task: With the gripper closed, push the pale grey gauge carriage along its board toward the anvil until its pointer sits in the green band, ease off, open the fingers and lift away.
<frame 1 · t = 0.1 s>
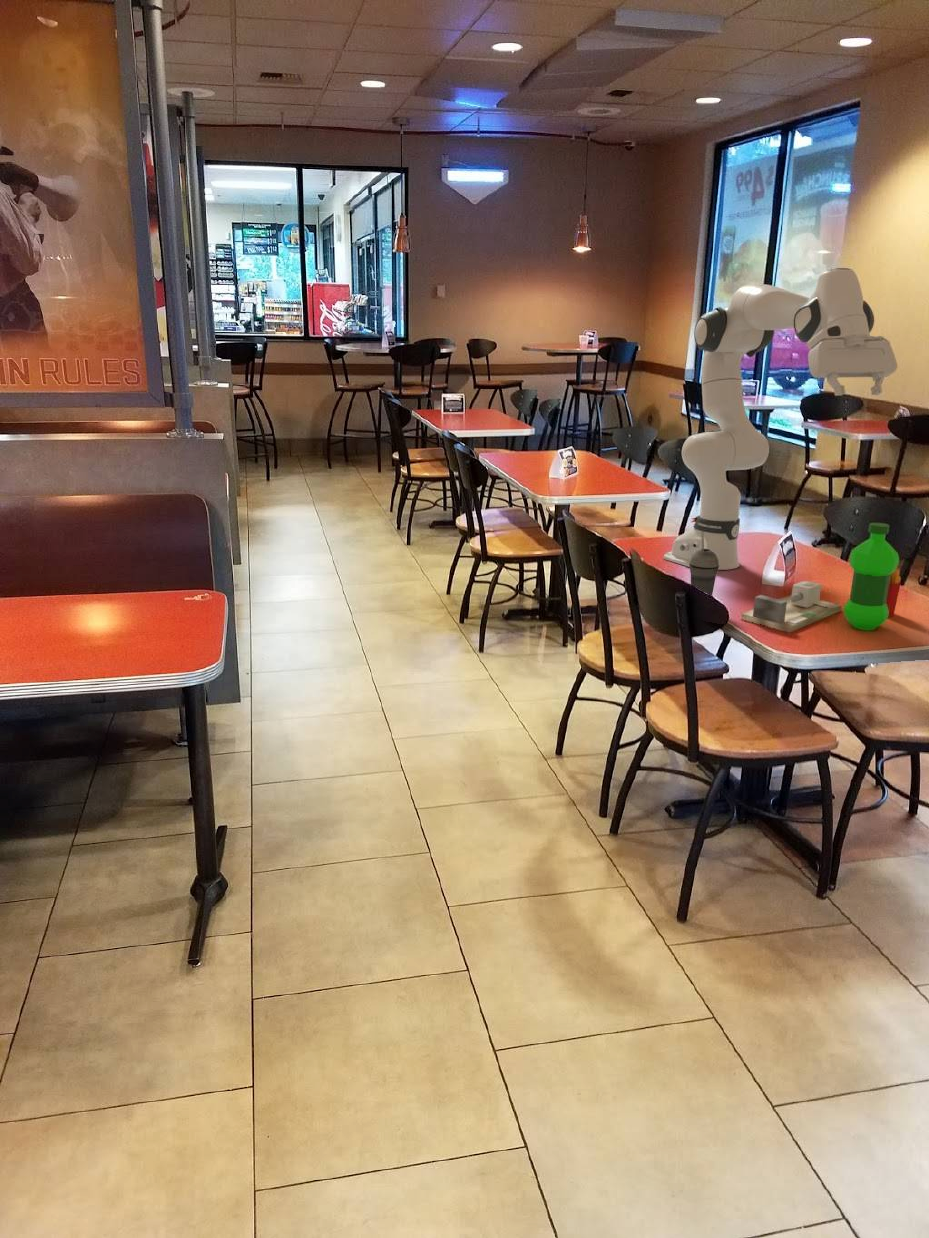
hand: (858, 394, 204), 54 cm above the table, tool tilted 30°, fingers open, 8 cm apart
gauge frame: (791, 615, 228), on the table
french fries: (881, 613, 230), on the table
plastic bottle: (863, 627, 220), on the table
beverage cup: (699, 609, 232), on the table
gauge carriage: (810, 596, 228), point 4 cm above the table, slide at 0.0 cm
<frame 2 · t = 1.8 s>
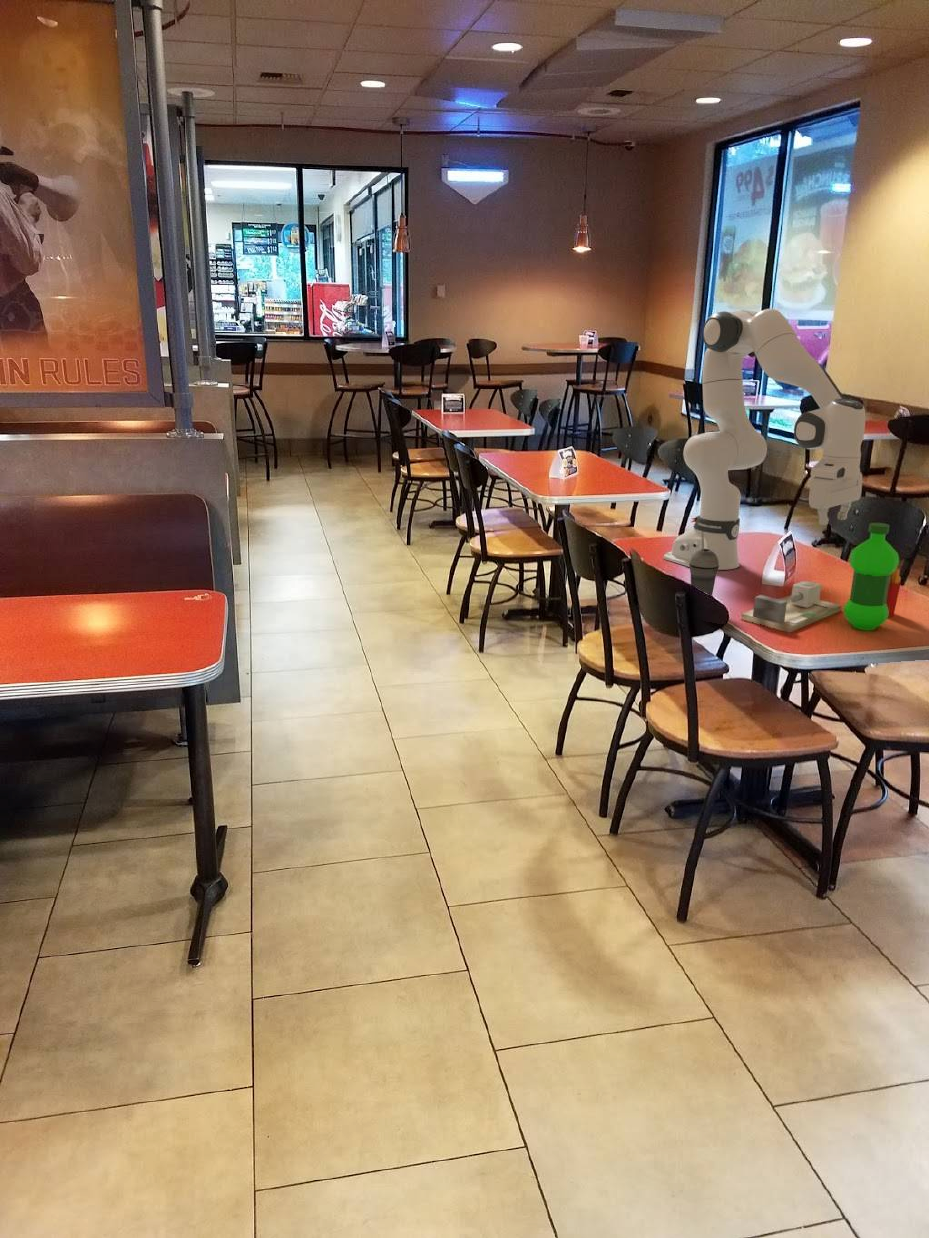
hand: (832, 522, 230), 21 cm above the table, tool pointing down, fingers open, 8 cm apart
nothing on the table moved.
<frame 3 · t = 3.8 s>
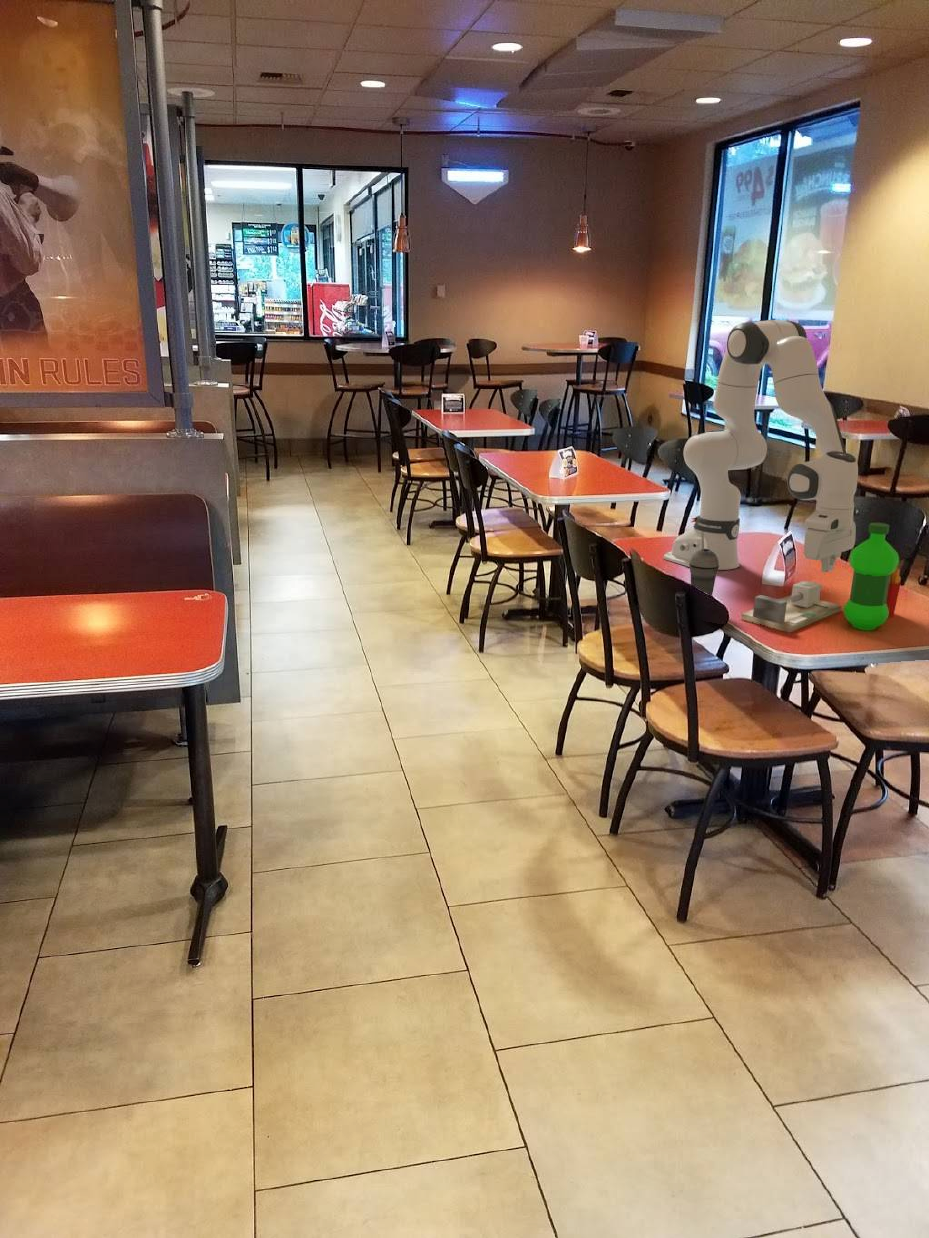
hand: (827, 571, 234), 9 cm above the table, tool pointing down, fingers closed
nothing on the table moved.
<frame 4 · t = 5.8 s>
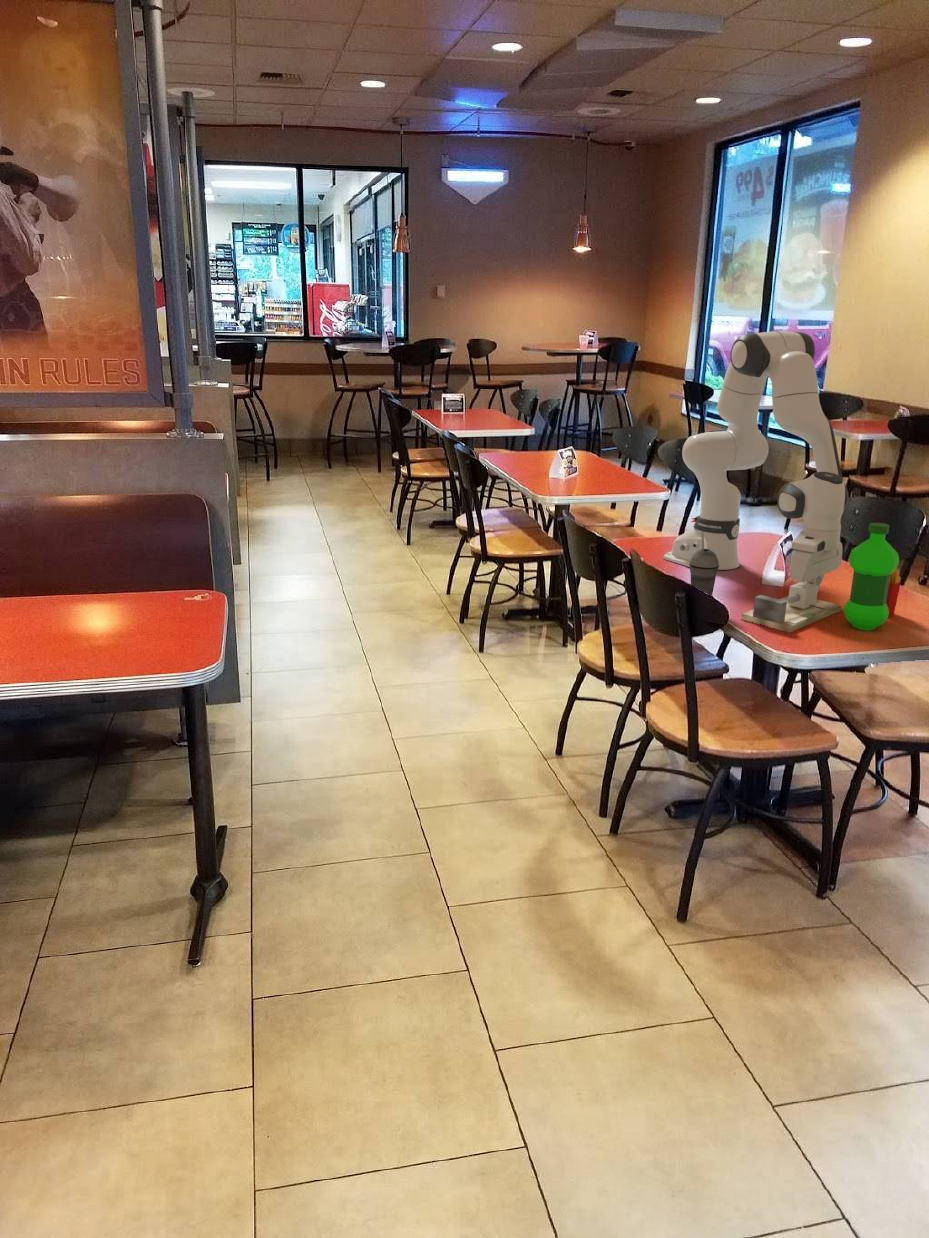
hand: (813, 591, 233), 4 cm above the table, tool pointing down, fingers closed
gauge carriage: (807, 597, 227), point 4 cm above the table, slide at 1.5 cm, touching gripper
everything else where it was.
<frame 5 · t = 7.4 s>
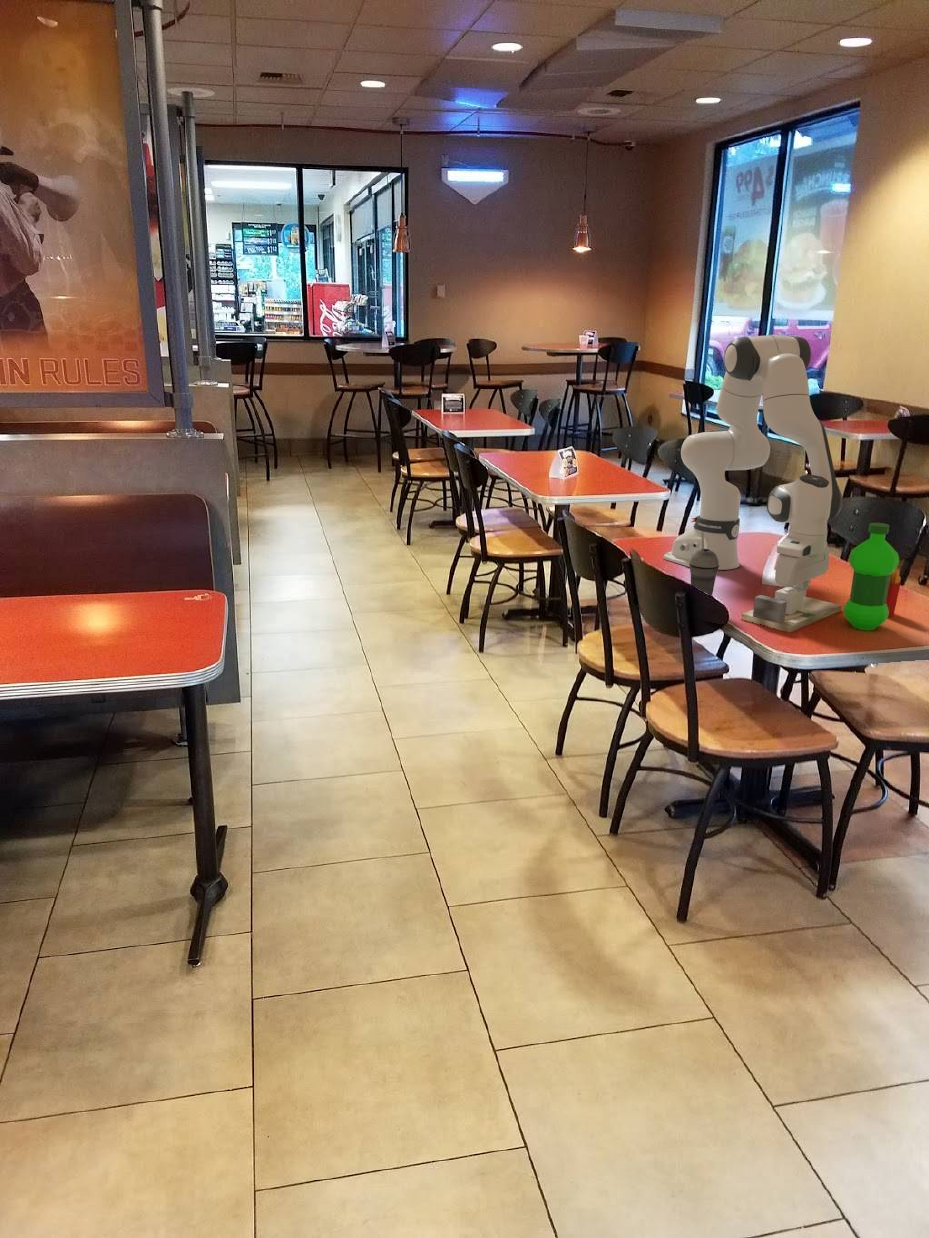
hand: (799, 597, 228), 4 cm above the table, tool pointing down, fingers closed
gauge carriage: (793, 602, 223), point 4 cm above the table, slide at 8.4 cm, touching gripper
everything else where it was.
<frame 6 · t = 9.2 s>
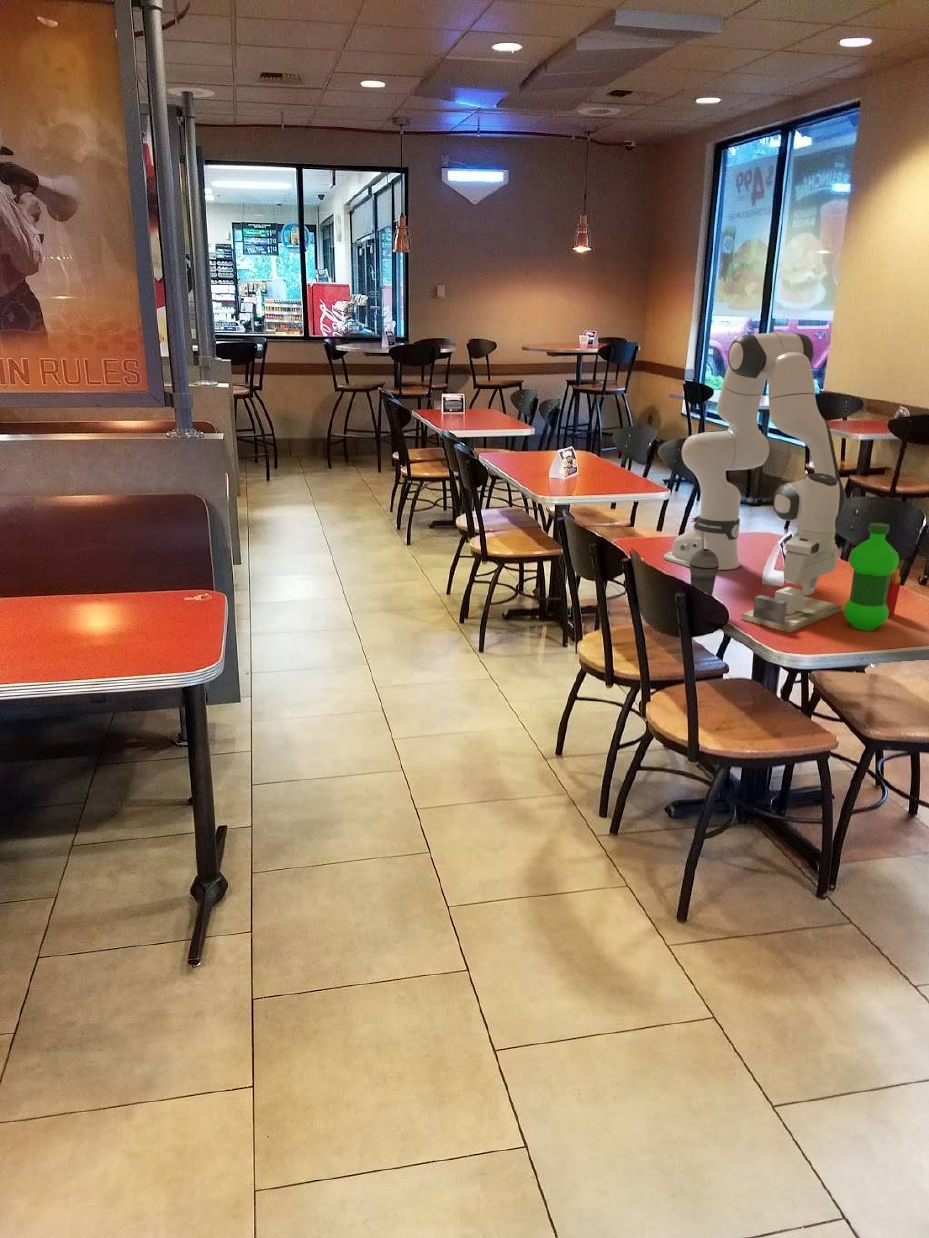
hand: (807, 593, 231), 4 cm above the table, tool pointing down, fingers closed
gauge carriage: (792, 602, 223), point 4 cm above the table, slide at 8.4 cm
everything else where it was.
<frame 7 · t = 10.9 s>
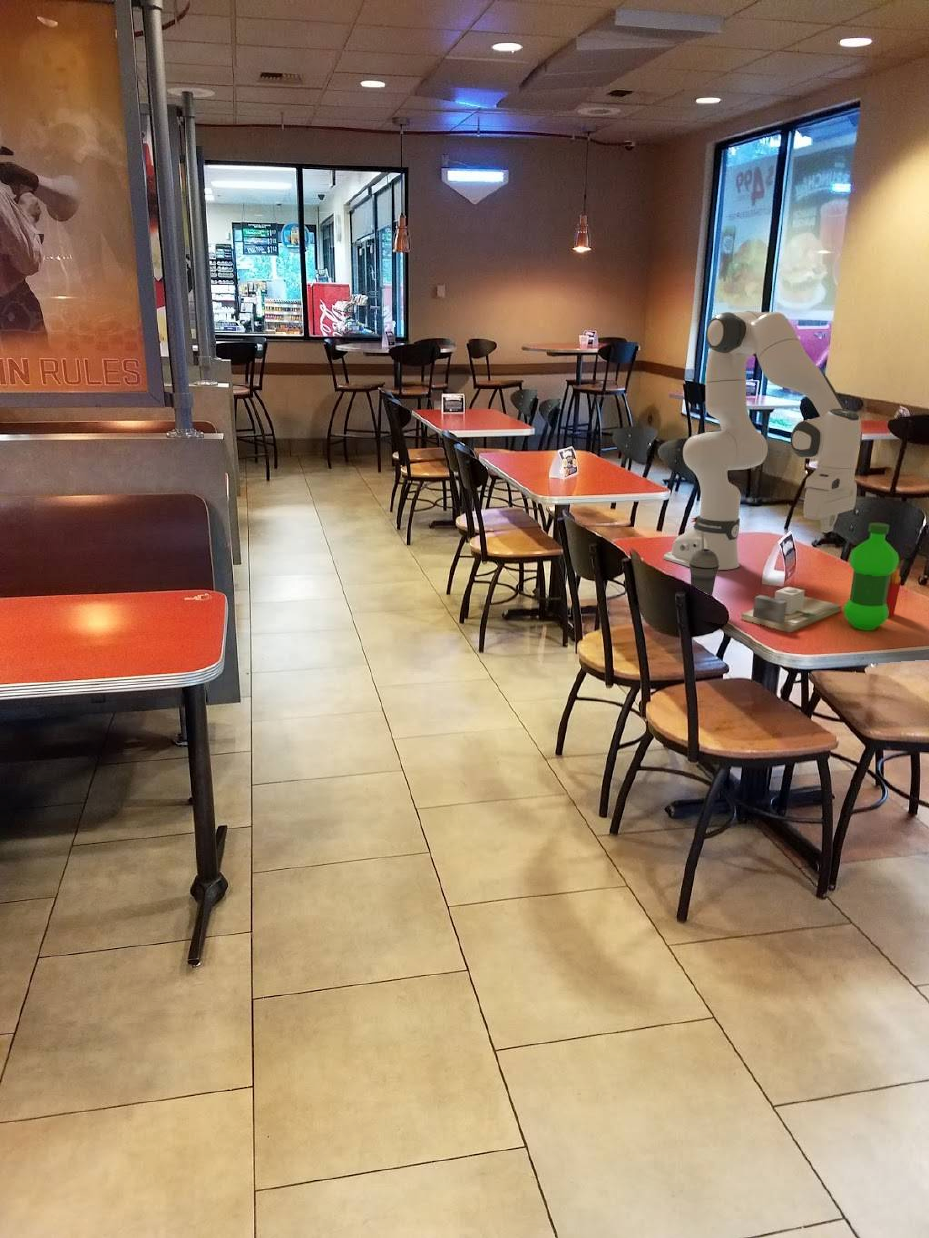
hand: (826, 531, 230), 19 cm above the table, tool pointing down, fingers closed
nothing on the table moved.
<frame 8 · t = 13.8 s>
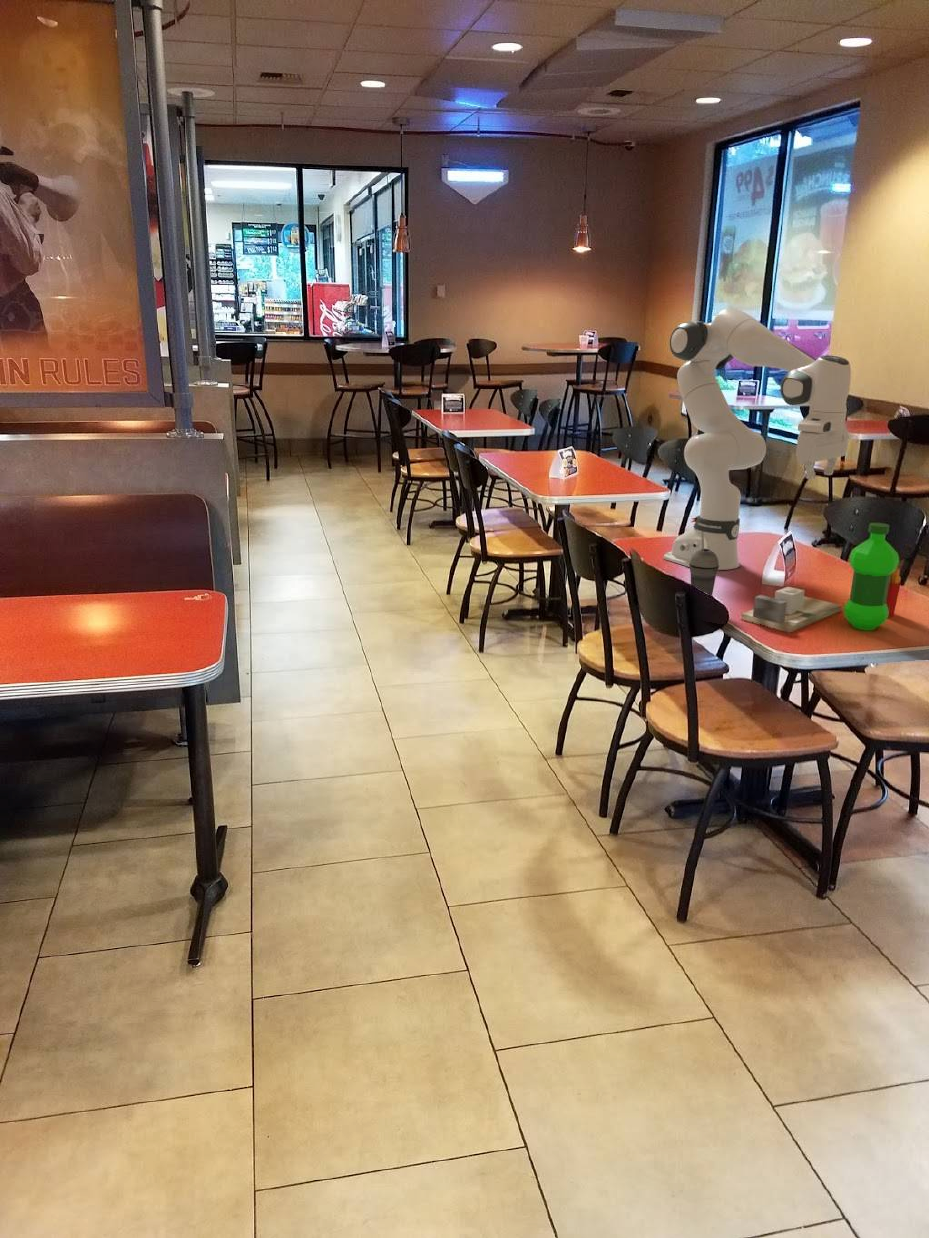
hand: (819, 476, 237), 31 cm above the table, tool pointing down, fingers open, 8 cm apart
nothing on the table moved.
at the end: gauge carriage slide at 8.4 cm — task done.
